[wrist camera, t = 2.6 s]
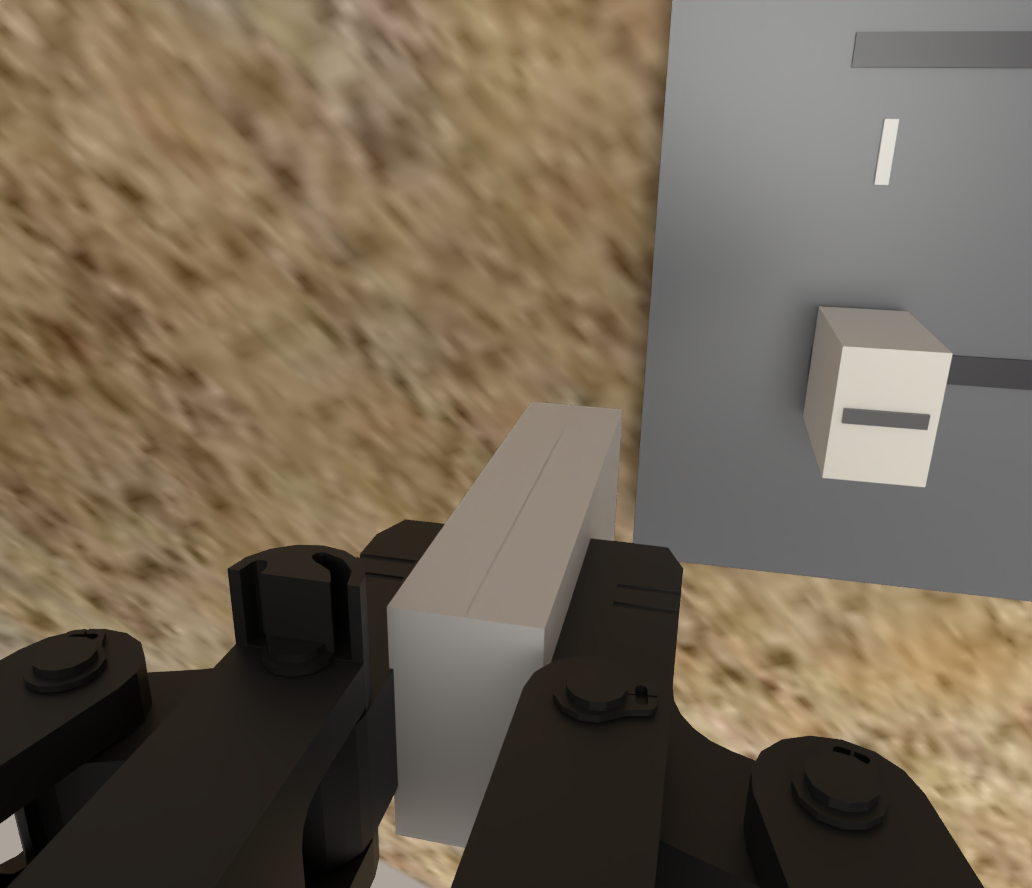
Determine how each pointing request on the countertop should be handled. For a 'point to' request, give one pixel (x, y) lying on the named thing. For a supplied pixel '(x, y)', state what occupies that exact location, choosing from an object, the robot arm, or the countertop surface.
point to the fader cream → (874, 395)
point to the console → (841, 283)
